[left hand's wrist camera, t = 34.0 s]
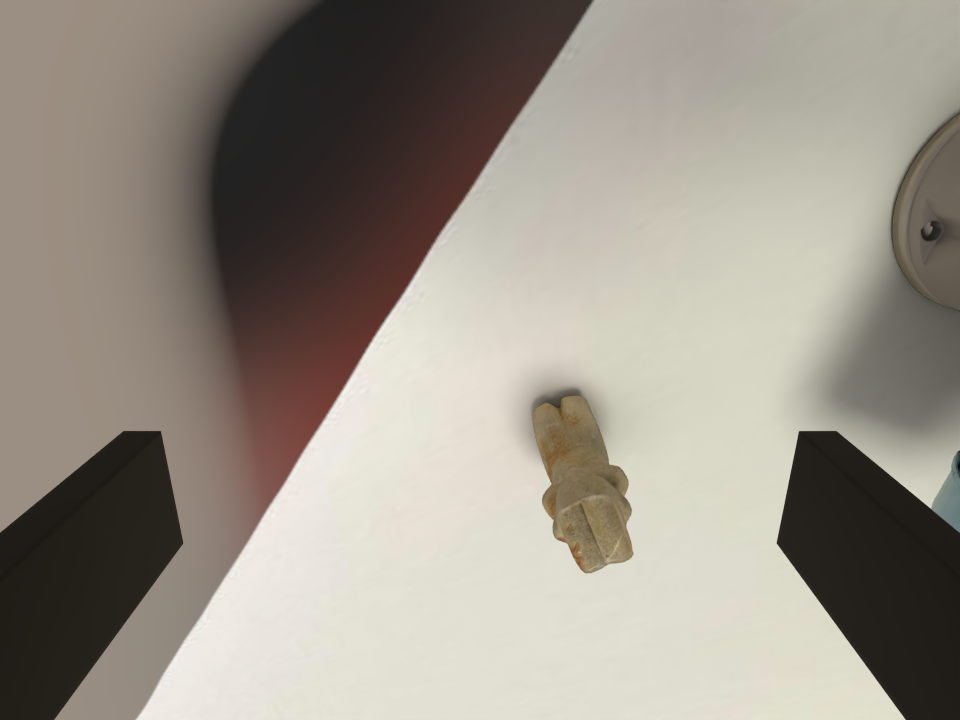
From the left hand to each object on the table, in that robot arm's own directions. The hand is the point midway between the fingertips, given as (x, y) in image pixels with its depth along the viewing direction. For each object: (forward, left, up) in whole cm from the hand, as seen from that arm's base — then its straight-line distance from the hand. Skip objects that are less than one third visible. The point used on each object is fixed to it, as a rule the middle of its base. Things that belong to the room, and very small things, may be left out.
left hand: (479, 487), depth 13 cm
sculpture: (+9, +14, -33) cm, 37 cm away
